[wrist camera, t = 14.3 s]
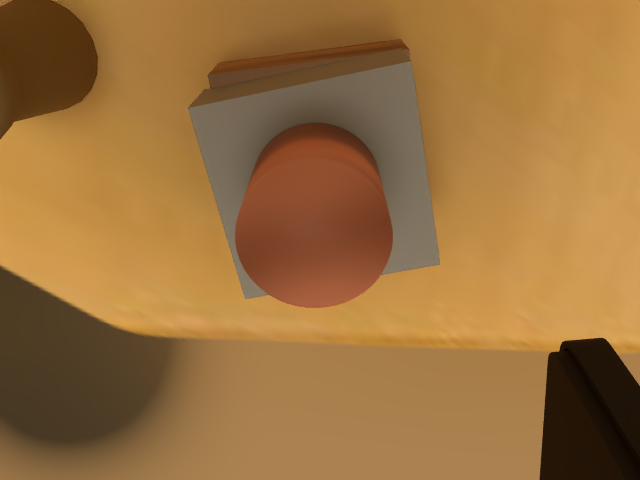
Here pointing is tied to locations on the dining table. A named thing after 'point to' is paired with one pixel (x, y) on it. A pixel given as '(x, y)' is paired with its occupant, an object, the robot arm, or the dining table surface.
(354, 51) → the tower bottom block
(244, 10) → the dining table surface
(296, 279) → the reddish pink cylinder
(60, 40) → the cork
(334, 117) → the tower top block
